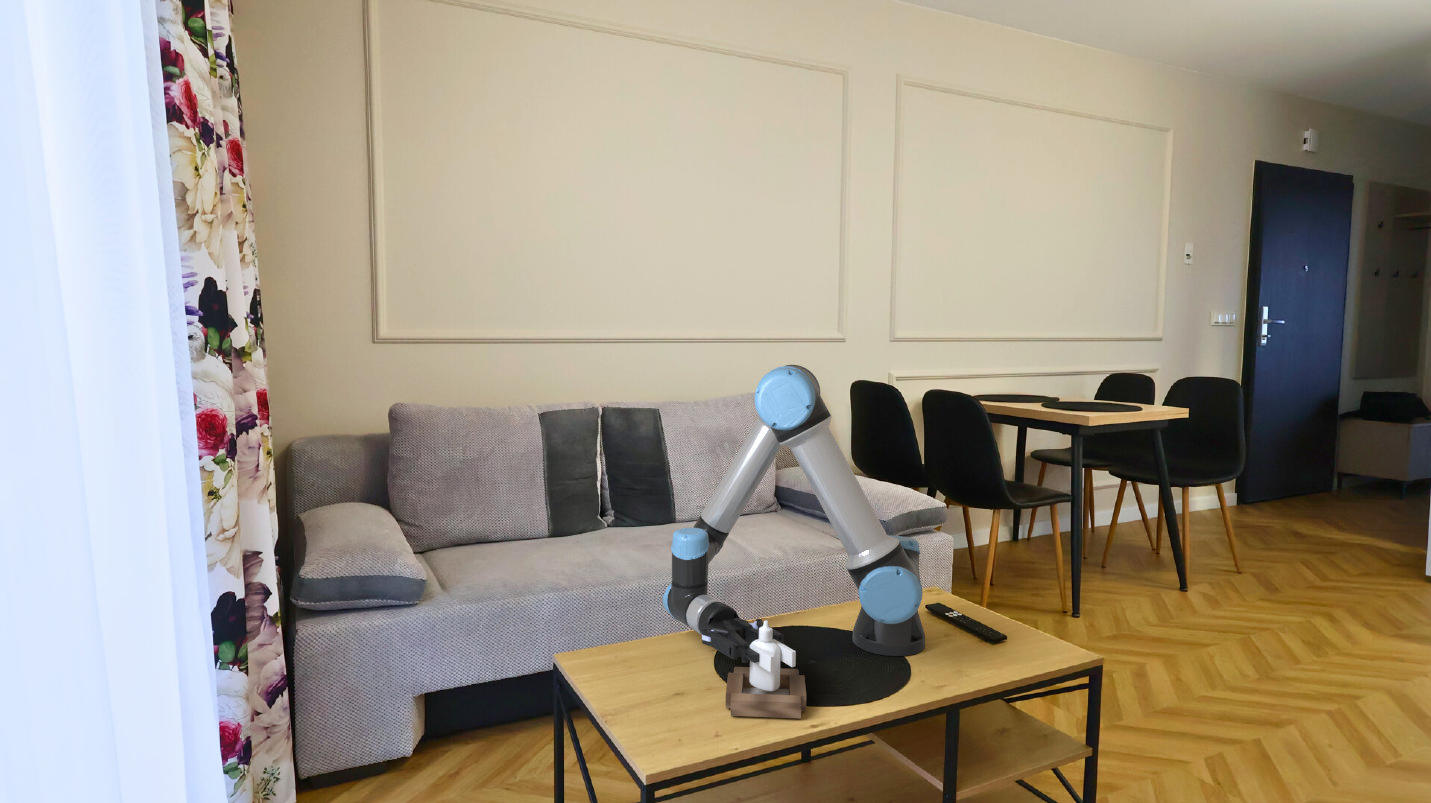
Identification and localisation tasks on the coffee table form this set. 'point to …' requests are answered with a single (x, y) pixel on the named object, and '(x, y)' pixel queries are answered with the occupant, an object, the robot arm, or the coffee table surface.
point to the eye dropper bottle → (759, 674)
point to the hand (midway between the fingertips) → (783, 661)
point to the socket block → (766, 695)
